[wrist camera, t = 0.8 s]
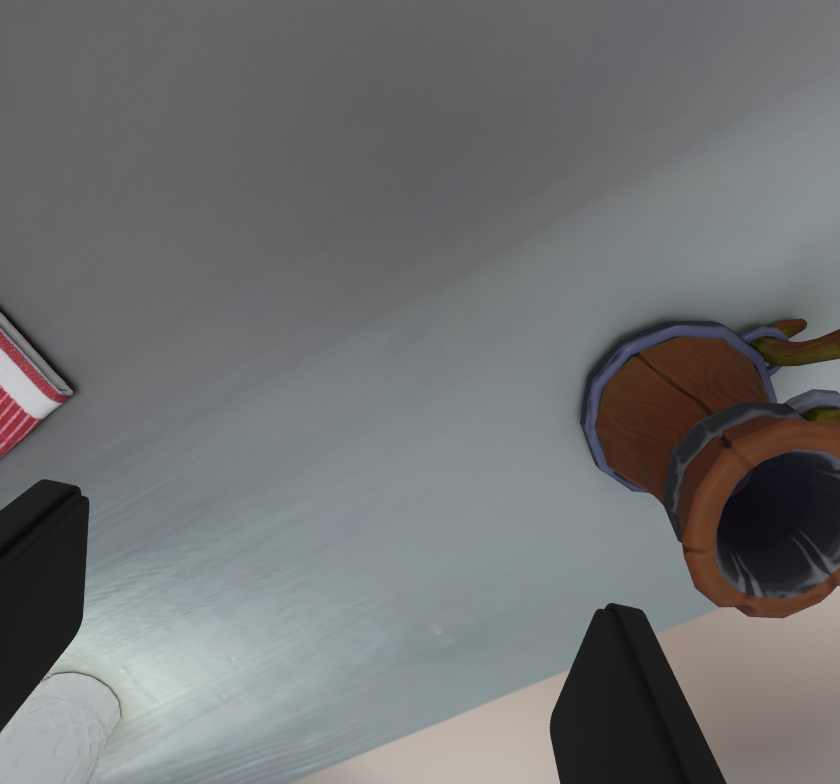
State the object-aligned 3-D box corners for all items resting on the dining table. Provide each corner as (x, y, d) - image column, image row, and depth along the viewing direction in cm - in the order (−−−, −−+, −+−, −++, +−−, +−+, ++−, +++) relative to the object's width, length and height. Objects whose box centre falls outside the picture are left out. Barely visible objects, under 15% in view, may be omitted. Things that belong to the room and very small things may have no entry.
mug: (800, 200, 33) (1068, 218, 19) (891, 353, 36) (1184, 465, 22) (539, 392, 38) (601, 522, 23) (639, 515, 40) (749, 697, 26)
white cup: (78, 649, 46) (-14, 773, 36) (149, 715, 48) (79, 847, 38) (8, 692, 47) (-98, 821, 38) (79, 754, 49) (-4, 890, 40)
